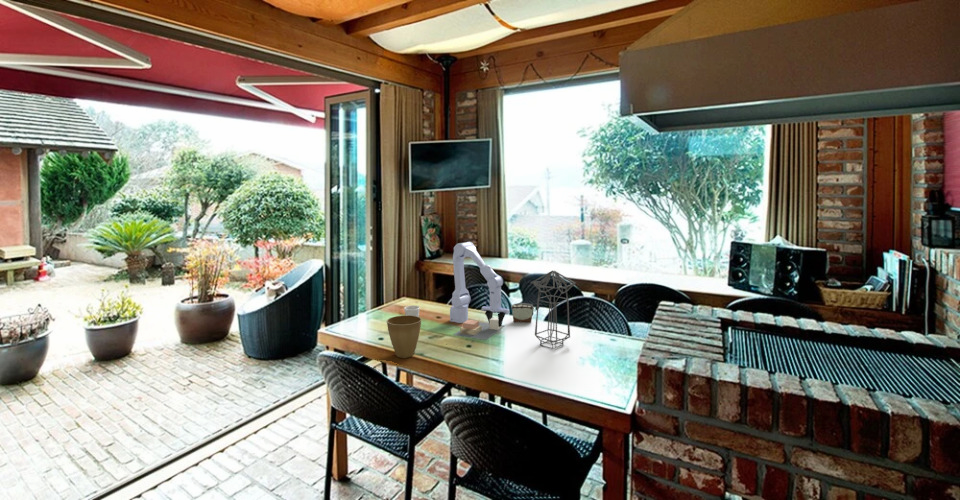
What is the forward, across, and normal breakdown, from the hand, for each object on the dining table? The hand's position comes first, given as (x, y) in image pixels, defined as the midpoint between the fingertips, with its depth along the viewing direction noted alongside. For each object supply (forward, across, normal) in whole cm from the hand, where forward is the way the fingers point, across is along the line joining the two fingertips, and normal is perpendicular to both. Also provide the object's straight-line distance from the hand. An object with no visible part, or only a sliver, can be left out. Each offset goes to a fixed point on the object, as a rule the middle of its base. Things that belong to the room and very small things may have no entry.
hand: (495, 325), depth 227 cm
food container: (+2, +8, +18) cm, 20 cm away
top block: (+1, 0, 0) cm, 1 cm away
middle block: (-1, -9, -10) cm, 13 cm away
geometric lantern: (+2, +33, -10) cm, 35 cm away
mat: (+2, -6, -6) cm, 9 cm away
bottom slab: (+1, -9, -10) cm, 14 cm away
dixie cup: (+2, -43, -12) cm, 45 cm away
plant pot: (+2, -22, -48) cm, 53 cm away
